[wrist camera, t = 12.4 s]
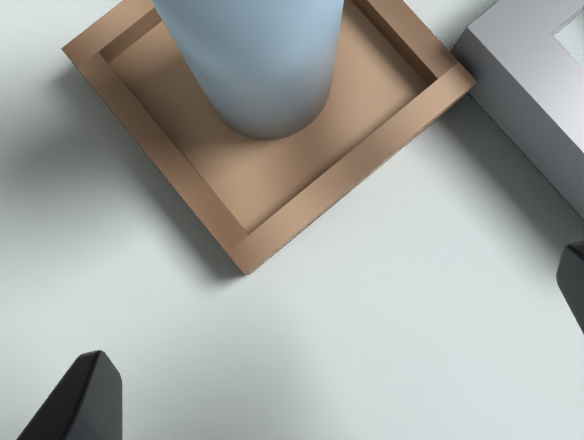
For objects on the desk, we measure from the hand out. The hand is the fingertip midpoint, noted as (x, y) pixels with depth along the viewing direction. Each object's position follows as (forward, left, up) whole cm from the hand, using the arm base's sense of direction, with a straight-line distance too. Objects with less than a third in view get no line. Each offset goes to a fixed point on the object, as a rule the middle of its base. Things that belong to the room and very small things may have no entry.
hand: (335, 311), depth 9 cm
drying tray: (+4, +8, -9) cm, 13 cm away
